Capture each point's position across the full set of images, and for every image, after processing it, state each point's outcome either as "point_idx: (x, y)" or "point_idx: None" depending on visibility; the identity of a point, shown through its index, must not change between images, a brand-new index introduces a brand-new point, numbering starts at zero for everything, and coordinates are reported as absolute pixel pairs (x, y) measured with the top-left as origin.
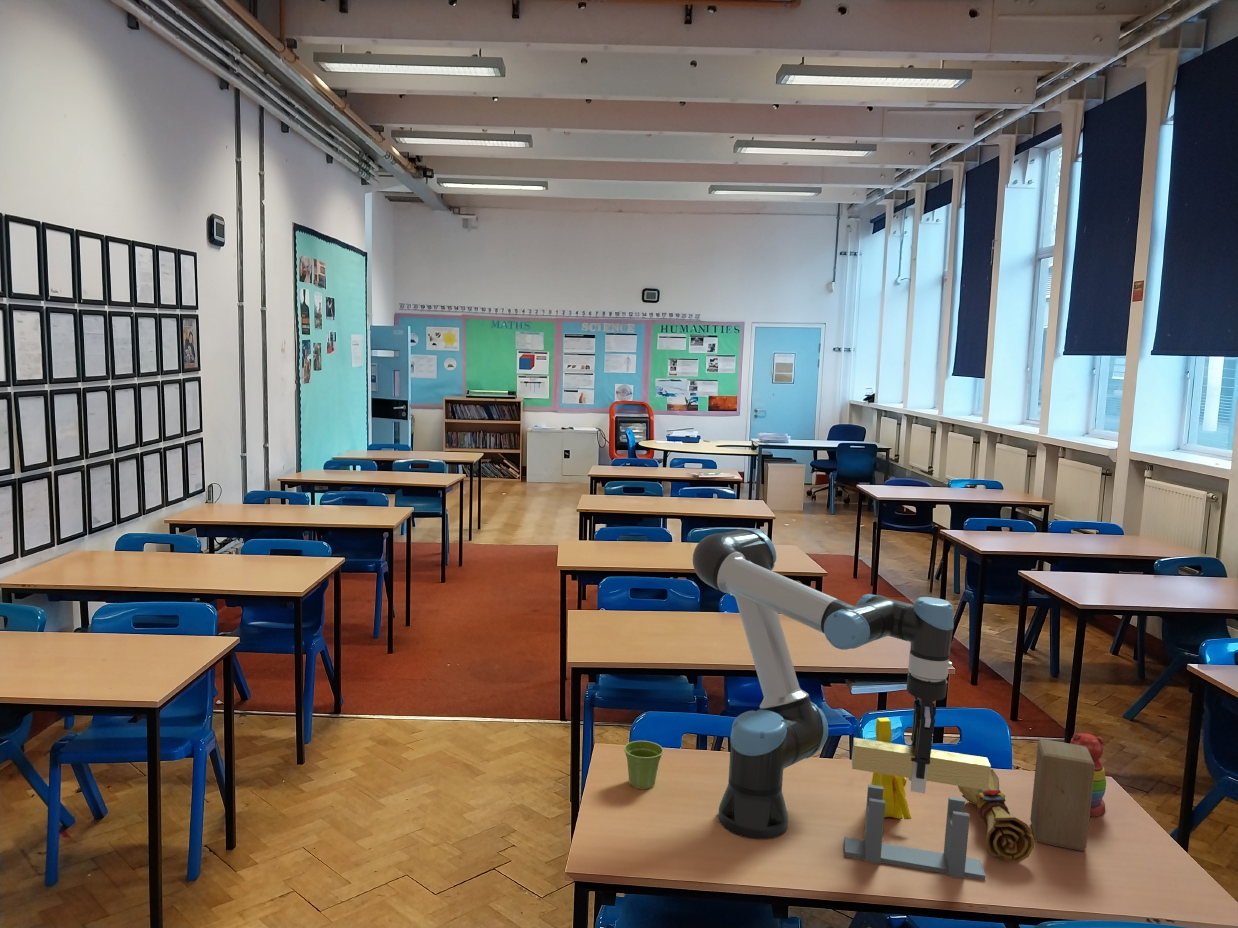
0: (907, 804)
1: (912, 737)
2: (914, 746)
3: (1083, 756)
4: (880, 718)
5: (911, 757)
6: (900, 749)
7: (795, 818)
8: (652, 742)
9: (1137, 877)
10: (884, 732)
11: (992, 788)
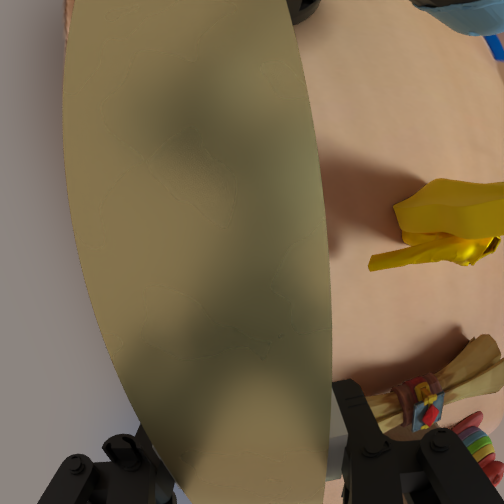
0: (396, 266)
1: (426, 462)
2: (348, 460)
3: None
4: None
5: (138, 448)
6: (204, 409)
7: (308, 41)
8: None
9: (325, 486)
10: None
11: (457, 399)
